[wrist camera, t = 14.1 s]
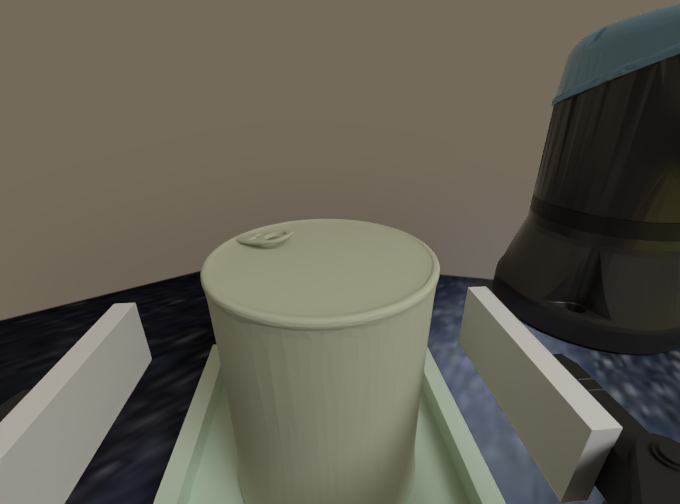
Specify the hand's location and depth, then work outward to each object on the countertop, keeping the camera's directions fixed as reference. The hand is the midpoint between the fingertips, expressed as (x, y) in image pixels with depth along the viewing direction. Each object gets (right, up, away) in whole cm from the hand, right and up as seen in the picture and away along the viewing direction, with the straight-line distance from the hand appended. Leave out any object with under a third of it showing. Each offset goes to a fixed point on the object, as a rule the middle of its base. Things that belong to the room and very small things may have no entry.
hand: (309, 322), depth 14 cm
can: (+1, -8, +4) cm, 9 cm away
